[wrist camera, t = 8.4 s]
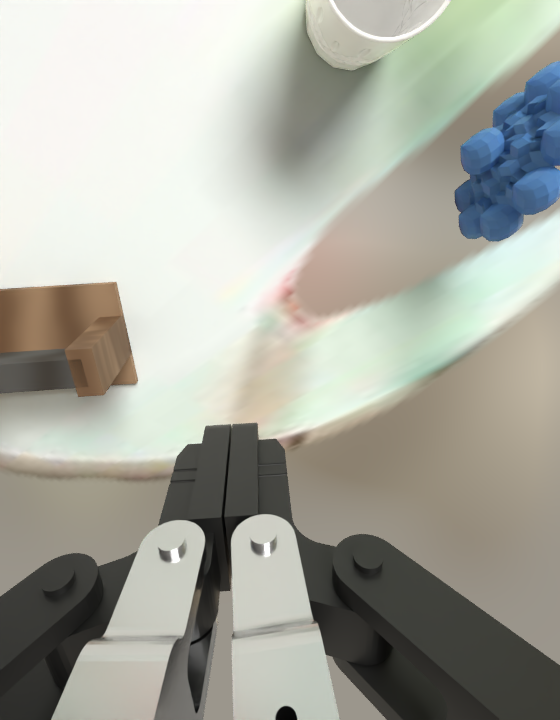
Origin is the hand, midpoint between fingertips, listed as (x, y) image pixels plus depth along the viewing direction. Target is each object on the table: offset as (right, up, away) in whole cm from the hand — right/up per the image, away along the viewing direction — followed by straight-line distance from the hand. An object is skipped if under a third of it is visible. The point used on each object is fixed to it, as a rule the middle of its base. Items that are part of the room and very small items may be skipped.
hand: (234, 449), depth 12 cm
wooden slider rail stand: (-24, +4, +26) cm, 36 cm away
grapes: (+17, +20, +22) cm, 34 cm away
